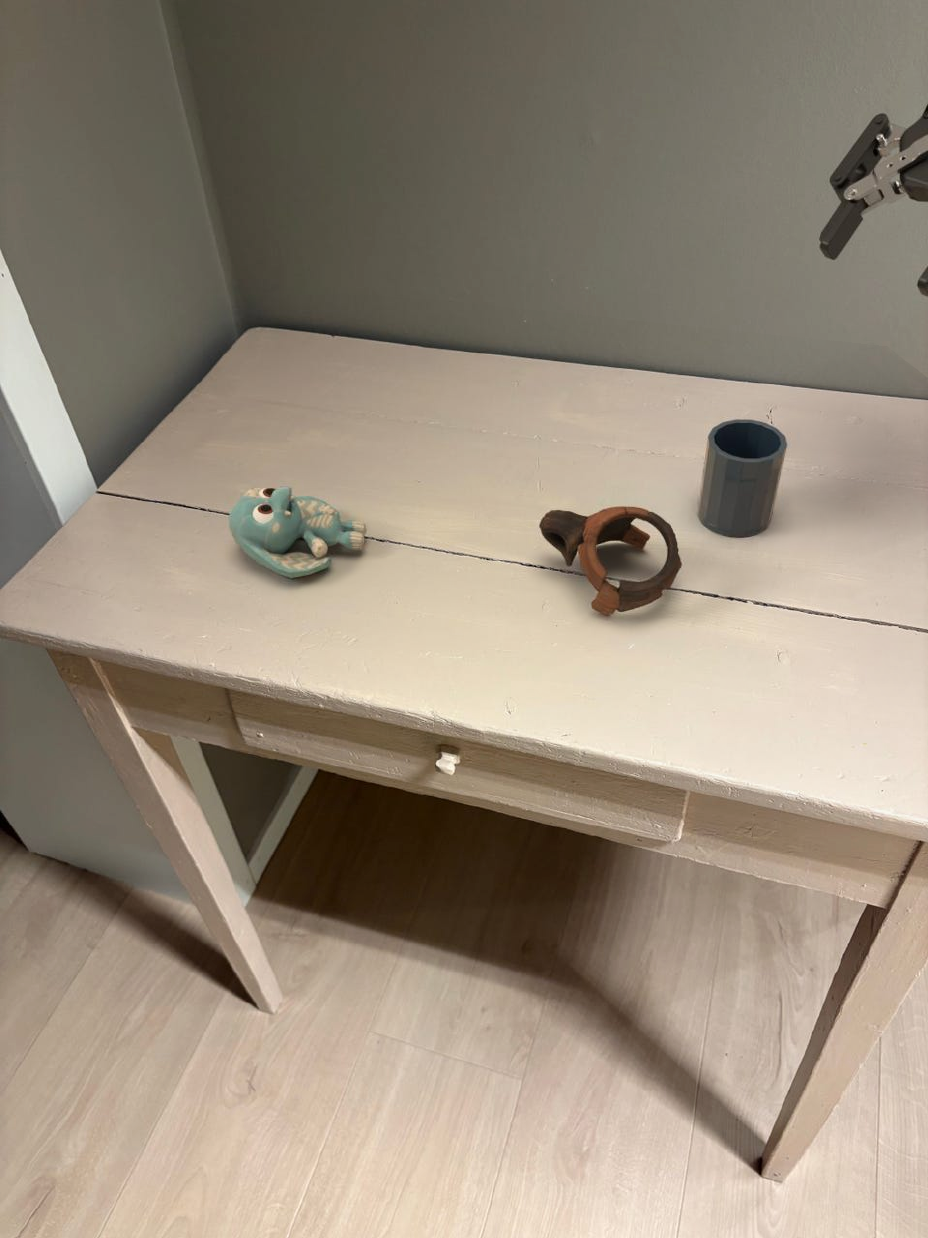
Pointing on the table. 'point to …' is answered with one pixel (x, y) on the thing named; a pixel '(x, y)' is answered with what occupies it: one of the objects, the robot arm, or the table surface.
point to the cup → (741, 477)
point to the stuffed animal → (290, 530)
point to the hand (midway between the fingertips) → (873, 272)
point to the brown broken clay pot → (605, 526)
